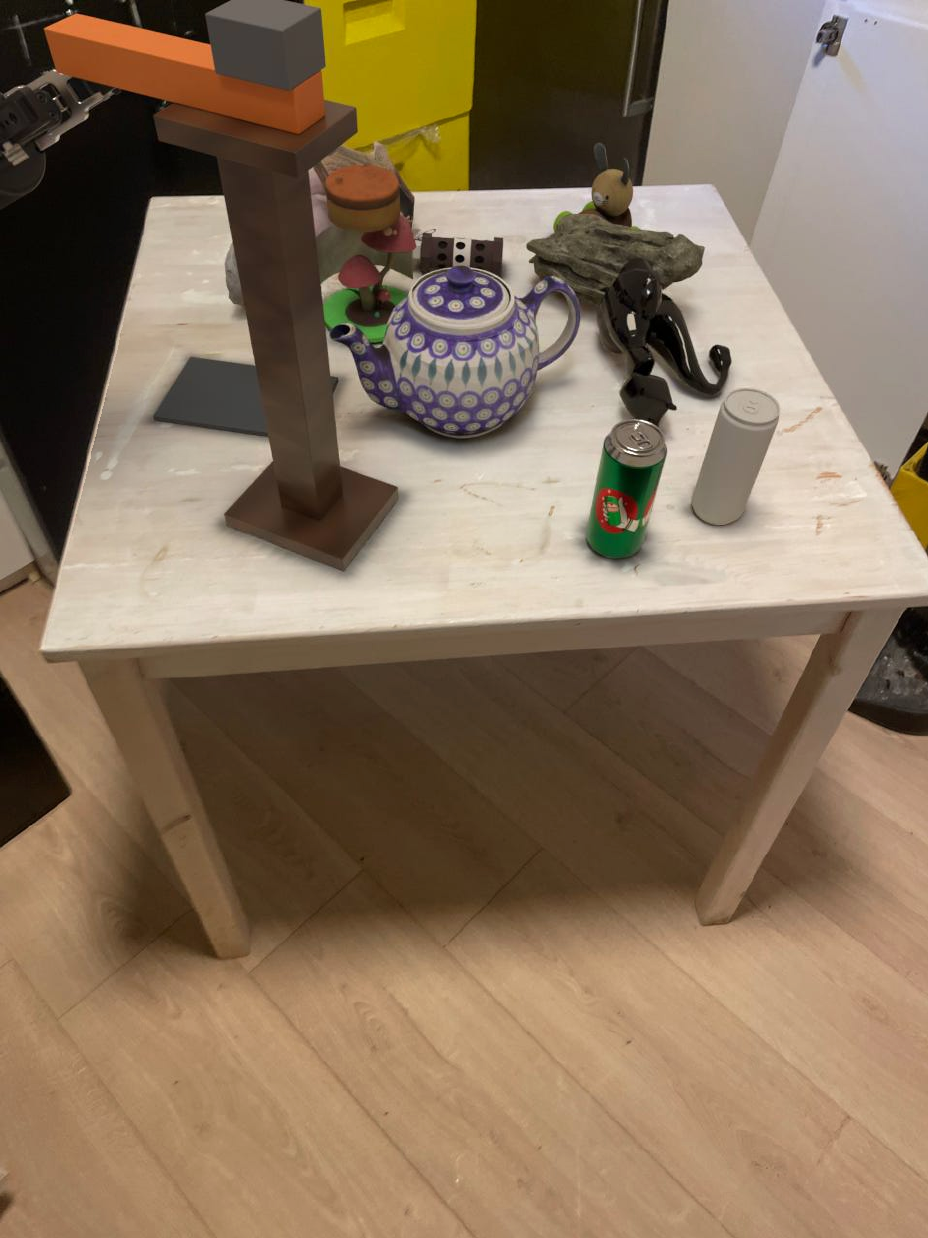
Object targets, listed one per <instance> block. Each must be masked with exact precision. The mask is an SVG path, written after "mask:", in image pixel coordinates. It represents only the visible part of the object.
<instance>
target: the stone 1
mask: <svg viewBox="0 0 928 1238" xmlns="http://www.w3.org/2000/svg"><path fill="white" fill-rule="evenodd" d="M224 269H225V270H224V273H225V285H226V288H227V290H228V298H229V300H230V301H231V303H232V304H234V305H238V306H240V307H242V308H245V307H244V301H243V296H242V290H241V285H240V280H239V274H238V269H237V263H236V258H235V253H234V247H233V242H232V243H231V244H230V246H229V249H228V251H227V254H226V256H225V261H224Z"/></svg>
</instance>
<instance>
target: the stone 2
mask: <svg viewBox="0 0 928 1238" xmlns="http://www.w3.org/2000/svg"><path fill="white" fill-rule="evenodd" d="M525 245H526V246H525V248H526V250H527V251H529V252H531V253H533V254H535V255H534V256H532V257H531V258H530V259H528V263H529V264H532V265H533V271H534V273H535V275H536V276H537V277H538V279H539V281H542V280H543V279H544V278H546V277H548V276H555V277H558V278H560V279H562V280H563V281H564V282H565V283H566V284H567V285H568V286H569V287H571V289H572V290H573V291H574V292H575V294H576V296H577V298H578V300H582V301H585V302H587V303H592V304H593V305H595V306H599V305H600V303H601V302H602V300H603V296H604V294H605V292H606V291H607V289H608V288H609V287H610V286H611V285H612V283H613V282H614V280H615V279H616V278H617V276H618V275H619V273H620V270H621V269H622V267H623V265H624V264H626V263H628V262H630V261H631V260H634V259H637V258H645V259H647V261H648V262H649V264H650V265H651V267H652V268H653V270H654V272H655V273H656V274H657V275H658V277H659V279H660V282H661V286H662V291H664V290H666V289H667V288H668V287H670V285H672V284H675V283H679V282H683V281H685V280H687V279H691V278H692V277H693V276H694V275H695V274H697V273H698V272H699V271H700V269H701V267H702V266H703V258H704V254H705V250H706V247H705V246H704V245H699V244H696V243H694V242H693V241H692V240H691V239H689V238H688V237H687V236H686V235H684V234H683V233H682V234H681V233H678V234H677V235H676V236H674V234H672V233H671V232H669V231H655V230H650V229H641V230H637V229H631V228H630V227H628V226H622V225H615V224H611V223H610V222H608V221H606V220H604V219H602V218H601V217H600V216H597V215H593V214H578V213H572V214H567V215H565V216H564V217H562V218H561V219H560V220H559V221H558V223H557V224H556V231H555V232H553V233H551V234H550V235H549V236H547V237H545V238H534V239H531V240H530V241H528V242H527V243H525Z"/></svg>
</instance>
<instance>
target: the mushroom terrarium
mask: <svg viewBox="0 0 928 1238" xmlns="http://www.w3.org/2000/svg"><path fill="white" fill-rule="evenodd" d="M325 188H326V199H327V209H328V218H329V220H330V221H331V222H332V223H333V224H334V225H332V226H330V227H328V228H327V229H325V230H324V231H322V232H321V233H320V234H319V235H318V236H317V237H316V245H317V254H318V263H319V273H320V282H321V284H322V283H324V282H326V280H328V279H329V278H332V276H334V275H336V274H338V277H337V278H338V281H339V283H340V284H341V285H342V286H344V287H345V288H343V289H341V290H338V291H337V292H335V293H333V294H332V295H330V296H329V297H328V298H327V299H326V300H325V302H324V303H323V310H324V319H325V328H327V329H328V330H329V332H330V331H331V330H332V329H333V328H334V327H335V326H337V325H339V324H343V323H350V324H352V325H355V326H356V327H358V328H359V329H360V330H361V331H362V332H363V333H364V334H365V336H366V337H367V338H368V340H369V341H370V342H371V343H381V342H382V343H383V340H384V335H385V330H386V326H387V323H388V320H389V318H390V315H391V313H392V311H393V310H394V308H395V307H396V306H397V305H398V304H399V303H400V302H401V301H402V300H404V299H405V298H406V297H407V296H408V294H409V293H406V292H405V291H403V290H401V289H398V288H396V287H393V286H389V285H385V284H383V282H384V278H385V277H386V275H387V274H388V273H389V272H390V270H392V271H394V272H397V273H399V274H401V275H403V276H405V277H408V279H411V280H414V258H413V250H414V249H415V248H416V242H415V238H416V237H417V236H416V235H417V234H418V233H419V232H420V231H421V229H419V228H413V227H412V228H411V227H410V225H409V223H408V221H407V219H406V218H405V217H403V216H402V215H400V191H399V181H398V178H397V177H396V175H395V174H393V173H392V172H391V171H389V170H387V169H385V168H382V167H378V166H373V165H351V166H347V167H343V168H340V169H338V170H336V171H334V172H332V173H331V174H330V175H329V176H328V177H327V179H326V182H325ZM415 236H416V237H415ZM376 266H381V267H382V269H381V271H379V269H378V268H377V267H376Z"/></svg>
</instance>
